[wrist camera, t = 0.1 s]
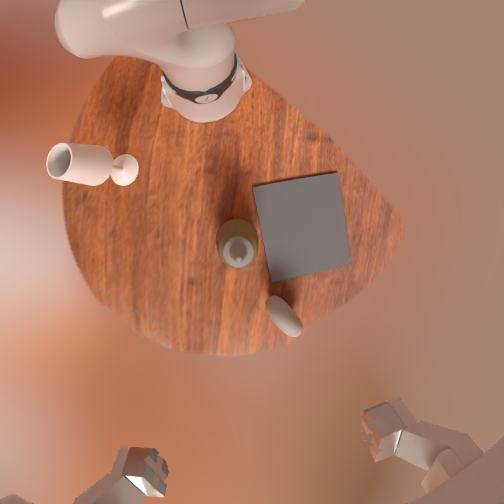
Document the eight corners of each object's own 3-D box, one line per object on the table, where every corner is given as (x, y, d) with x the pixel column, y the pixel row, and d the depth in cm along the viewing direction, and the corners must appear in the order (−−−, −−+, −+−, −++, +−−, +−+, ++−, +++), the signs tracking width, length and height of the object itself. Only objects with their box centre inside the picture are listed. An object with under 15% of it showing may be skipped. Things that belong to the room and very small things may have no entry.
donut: (259, 296, 58) (264, 316, 48) (271, 285, 58) (279, 304, 48) (288, 325, 60) (297, 348, 50) (299, 315, 60) (311, 337, 50)
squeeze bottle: (235, 208, 53) (236, 216, 36) (265, 235, 55) (280, 256, 38) (208, 238, 54) (197, 261, 37) (238, 264, 56) (241, 297, 38)
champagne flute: (115, 190, 51) (48, 195, 27) (106, 162, 49) (37, 151, 26) (142, 177, 51) (84, 171, 27) (133, 148, 49) (72, 126, 26)
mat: (252, 187, 53) (252, 187, 52) (336, 172, 53) (337, 172, 53) (271, 282, 57) (271, 282, 57) (349, 263, 58) (350, 264, 57)
